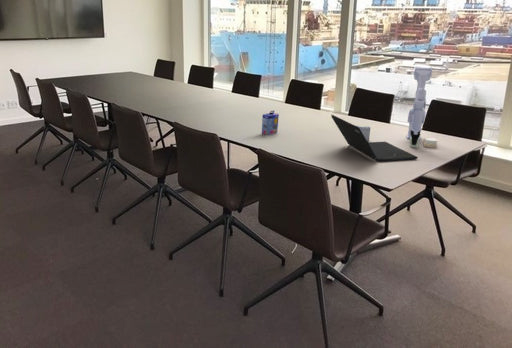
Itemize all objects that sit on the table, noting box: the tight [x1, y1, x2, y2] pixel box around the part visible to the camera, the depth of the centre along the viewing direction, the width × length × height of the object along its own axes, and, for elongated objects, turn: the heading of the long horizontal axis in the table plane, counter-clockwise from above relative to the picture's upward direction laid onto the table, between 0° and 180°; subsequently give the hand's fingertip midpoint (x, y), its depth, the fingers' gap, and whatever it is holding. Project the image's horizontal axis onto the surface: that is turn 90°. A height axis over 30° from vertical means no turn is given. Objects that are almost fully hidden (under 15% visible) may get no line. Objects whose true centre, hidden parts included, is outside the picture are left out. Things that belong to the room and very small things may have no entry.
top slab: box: [423, 137, 438, 146], centre depth 280 cm, size 6×6×2 cm
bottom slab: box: [422, 141, 437, 149], centre depth 281 cm, size 7×7×2 cm
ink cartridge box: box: [261, 110, 280, 136], centre depth 295 cm, size 10×6×14 cm, turn 137°
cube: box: [409, 138, 420, 148], centre depth 278 cm, size 4×4×4 cm
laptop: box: [330, 114, 418, 162], centre depth 260 cm, size 33×38×19 cm
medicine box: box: [356, 125, 371, 142], centre depth 287 cm, size 8×4×9 cm, turn 92°
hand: (413, 143), depth 279 cm, fingers closed on cube, 4 cm apart
